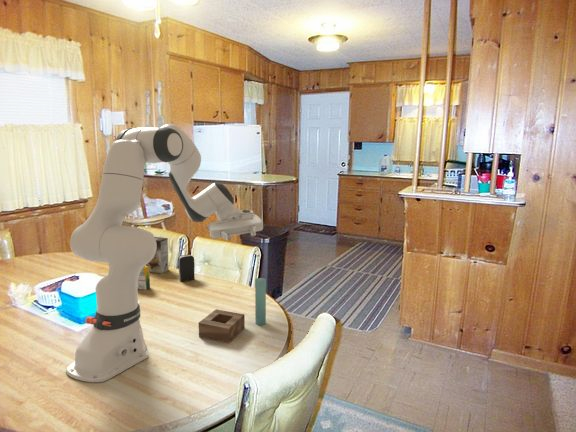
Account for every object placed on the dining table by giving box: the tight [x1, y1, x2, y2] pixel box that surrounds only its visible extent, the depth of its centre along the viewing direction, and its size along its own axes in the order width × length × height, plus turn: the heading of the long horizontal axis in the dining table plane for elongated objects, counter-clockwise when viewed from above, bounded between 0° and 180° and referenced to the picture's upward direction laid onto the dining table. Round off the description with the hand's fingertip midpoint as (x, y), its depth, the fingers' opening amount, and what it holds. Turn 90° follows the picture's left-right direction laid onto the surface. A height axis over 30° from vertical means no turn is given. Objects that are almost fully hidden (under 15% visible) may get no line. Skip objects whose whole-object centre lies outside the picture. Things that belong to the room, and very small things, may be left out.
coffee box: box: [145, 236, 170, 274], centre depth 191 cm, size 9×6×16 cm
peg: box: [254, 277, 267, 326], centre depth 138 cm, size 4×4×16 cm
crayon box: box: [137, 265, 151, 291], centre depth 170 cm, size 7×3×12 cm, turn 74°
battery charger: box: [177, 254, 196, 282], centre depth 180 cm, size 7×4×11 cm, turn 121°
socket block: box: [198, 308, 246, 344], centre depth 132 cm, size 11×11×5 cm
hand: (241, 236), depth 144 cm, fingers open, 8 cm apart
